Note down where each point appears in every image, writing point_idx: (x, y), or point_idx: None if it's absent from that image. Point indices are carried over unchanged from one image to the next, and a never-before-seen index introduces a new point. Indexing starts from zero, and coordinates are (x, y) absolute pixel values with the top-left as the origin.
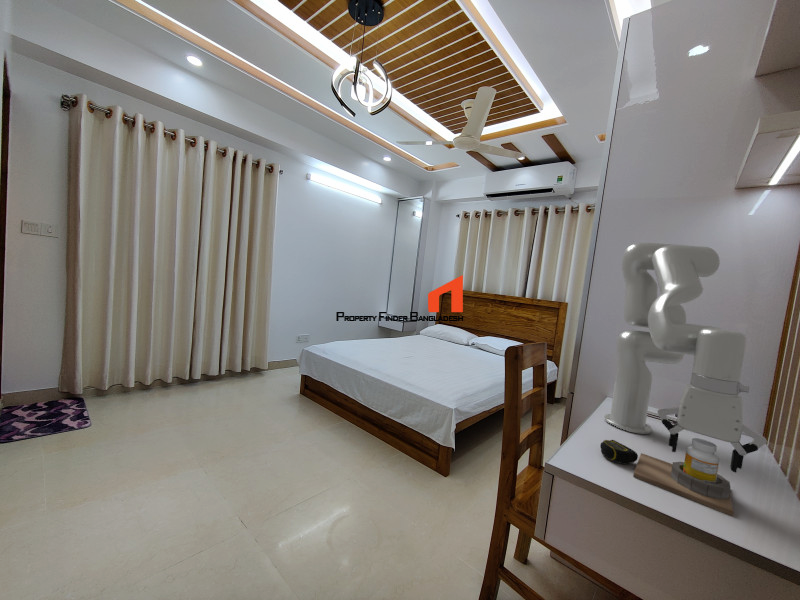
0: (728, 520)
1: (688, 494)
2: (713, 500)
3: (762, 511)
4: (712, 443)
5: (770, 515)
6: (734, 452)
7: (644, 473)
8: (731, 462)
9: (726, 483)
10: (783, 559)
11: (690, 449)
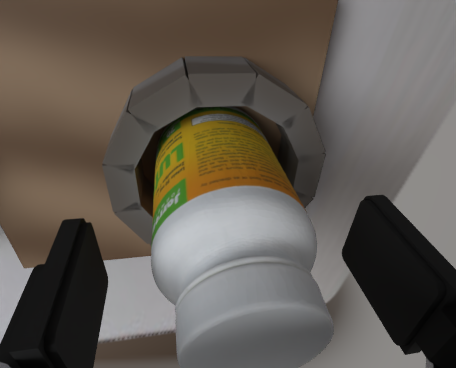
0: None
1: None
2: None
3: (382, 120)
4: (316, 326)
5: (395, 128)
6: (414, 330)
7: (48, 245)
8: (372, 240)
9: (307, 181)
10: (324, 296)
11: (175, 302)
